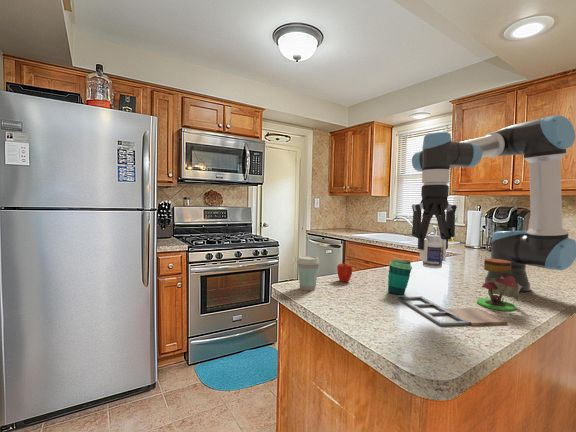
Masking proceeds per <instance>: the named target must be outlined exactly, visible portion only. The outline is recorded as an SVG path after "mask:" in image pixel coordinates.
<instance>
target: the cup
mask: <svg viewBox="0 0 576 432" xmlns="http://www.w3.org/2000/svg"><path fill="white" fill-rule="evenodd" d="M388 265H389V267H388V268H389V270H388V278H387V279H388V281H387V285H388V286H387V291H388V293H389V294H392V295H395V296H403V295H405V292H406V289H407V288H408V284H409V281H410V276H411V272H412V270H413V266H411V265H412V264H411V261H410V260H407V259H398V258H397V259H392V260H391V261H389V262H388Z"/></svg>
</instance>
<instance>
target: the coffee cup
mask: <svg viewBox="0 0 576 432" xmlns="http://www.w3.org/2000/svg"><path fill="white" fill-rule="evenodd" d="M296 263H297V269H298V270H297V271H298V279H299V280H298V282H299V289H300V290H301V291H306V292H312V291H315V290H316V285H317V279H318V271H319V266H320V265H319V264H320V260H319V257H318V256H314V255H302V256H301V255H300V256H298V259H297V260H296Z"/></svg>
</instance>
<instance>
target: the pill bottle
mask: <svg viewBox="0 0 576 432" xmlns="http://www.w3.org/2000/svg"><path fill="white" fill-rule="evenodd" d="M425 239H427V240H428V247H427V261H423V260H422V266H423V267H424V268H428V269H441V268H443V261H442V252H443V245H442V243H440V242H439V241H440V239H441V236H440V235H438V234H426V237H425Z"/></svg>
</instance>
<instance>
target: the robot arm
mask: <svg viewBox="0 0 576 432" xmlns="http://www.w3.org/2000/svg"><path fill="white" fill-rule="evenodd" d="M575 131H576V130H575V127H574V125H573V123H572V122H571V121H570V120H569V118H567V117H565V116H563V115H559V114H558V115H557V114H556V115H552V116H544V117H541V118H537V119H533V120H529V121H523V122H520V123H514V124H513V125H510V126H509V125H508V126H506V127H504V128H501V129H497V130H495V131H492V132H488V133H486V134H485V135H483V136H481V137H476V138H473V139H467V140H464V141H453V140H452V135H451V133H450V132H448V131H433V132H430V133H427V134H425V135H424V136H423V142H422V148H421V149H422V150H419V151H417V152H414V154H413V156H412V157H411V165H412V167H413V169H414V170H415V171H417V172H422V173H421V184H423V185H421V196H420V197H421V201H420V202H419V203H416V204H412V205H411V208H412V229H411V236H412V237H413V238H416V239H417V249H418V250H419V260H420V261H422V262H423V261H427V247H428V240H427V239H426V235H428V234H427V233H428V230H429V227H430V223H431V219H432V218H433V217H435V218H436V222H437V226H438V230H439V236H441V237H440V241H439V242H440V243H442V245H443V252H442V262H446V257H447V256H446V254H447V250H448V249H449V241H450V240H451V239H452V238H454V237H455V236H456V231H455V230H456V211H457V207H458V206H457V205H456V204H451V203H449V201H448V198H449V196H450V186H449V185H448V184H449V183H450V170H451V169H454V168H474V167H475V166H477V165H478V164H479V163H480V162H481V161H482V159H483V158H486V157H487V158H496V157H504V156H505V157H506V156H519V155H523V160H524V161H526V162H527V163H528V169H529V170H528V171H529V177H528V178H529V196H530V198H529V199H530V201H529V202H530V203H529V204H530V205H529V206H530V228H529V229H528V230H506V231H504V230H503V231H502V230H501V231H495V232H493V233H492V237H491V241H490V243H491V247H490V249H491V250H490V259H501V260H507V261H510V262H511V273H496V272H491V271H487V274H486V276H485V277H484V283H485V282H487V281H491V278H497V279H498V278H499V277H501V276H504V275H509V276H512V277H513V278H514V279H515V282H516V283H518V284H519V285H520V286H522V288H520V290H519V292H520V293H521V292H522V293H523V292H529V291H531V283H530V282H529V277H528V274H527V271H526V269H527V267H526V266H532V267H537V268H543V269H546V270H554V271H565V270H567V269H568V268H570V267H571V266H572V265H573V264H574V262H575V260H576V240H575V239H573V238H570V237H569V231H568V230H566V229H565V228H564V227H563V202H562V199H563V198H562V171H561V169H562V167H561V165H562V163H561V160H562V159H563V158H564V157H565V156H566V155H567V149H569V148H572V146H573V145H574V143H575V141H576V132H575ZM422 211H423V212H422Z"/></svg>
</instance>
